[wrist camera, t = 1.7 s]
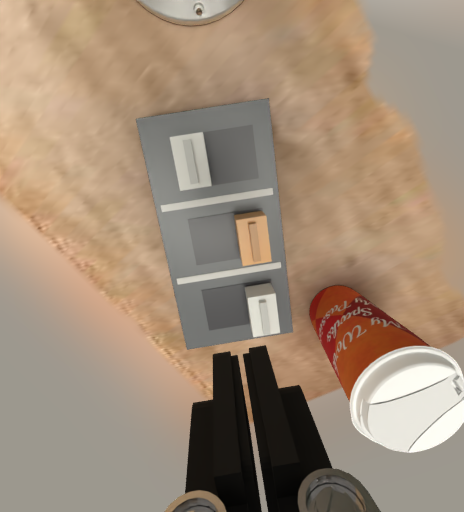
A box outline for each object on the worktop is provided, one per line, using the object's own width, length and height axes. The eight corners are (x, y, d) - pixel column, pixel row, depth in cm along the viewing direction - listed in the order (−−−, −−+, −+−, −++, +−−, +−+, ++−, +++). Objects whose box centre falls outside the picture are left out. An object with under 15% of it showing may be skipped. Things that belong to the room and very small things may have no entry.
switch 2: (234, 215, 28) (236, 221, 25) (261, 210, 28) (267, 216, 25) (240, 257, 29) (243, 268, 26) (266, 253, 29) (272, 263, 26)
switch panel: (143, 122, 29) (135, 118, 26) (262, 104, 29) (268, 98, 26) (189, 334, 35) (187, 350, 32) (286, 318, 35) (293, 332, 32)
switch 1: (173, 139, 26) (168, 136, 23) (203, 134, 26) (202, 131, 23) (182, 188, 27) (179, 191, 24) (211, 183, 27) (211, 186, 24)
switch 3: (244, 287, 30) (248, 300, 27) (270, 282, 30) (276, 296, 27) (250, 323, 31) (254, 340, 28) (274, 319, 31) (281, 336, 28)
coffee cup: (347, 260, 34) (447, 334, 19) (384, 314, 36) (498, 416, 22) (283, 305, 35) (333, 407, 21) (323, 355, 37) (393, 478, 23)
